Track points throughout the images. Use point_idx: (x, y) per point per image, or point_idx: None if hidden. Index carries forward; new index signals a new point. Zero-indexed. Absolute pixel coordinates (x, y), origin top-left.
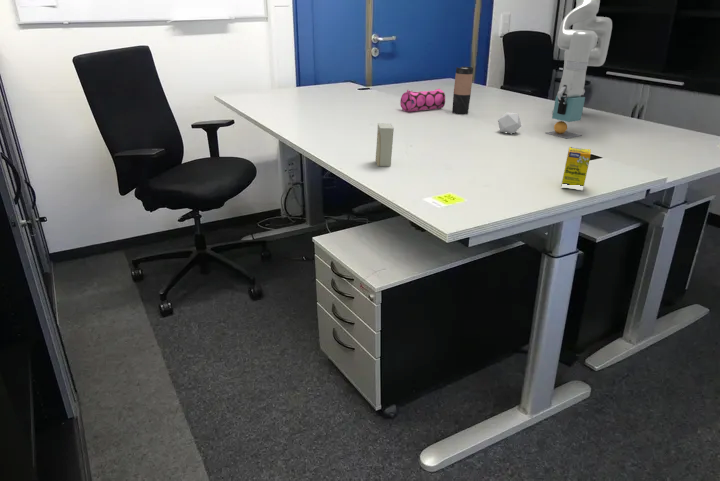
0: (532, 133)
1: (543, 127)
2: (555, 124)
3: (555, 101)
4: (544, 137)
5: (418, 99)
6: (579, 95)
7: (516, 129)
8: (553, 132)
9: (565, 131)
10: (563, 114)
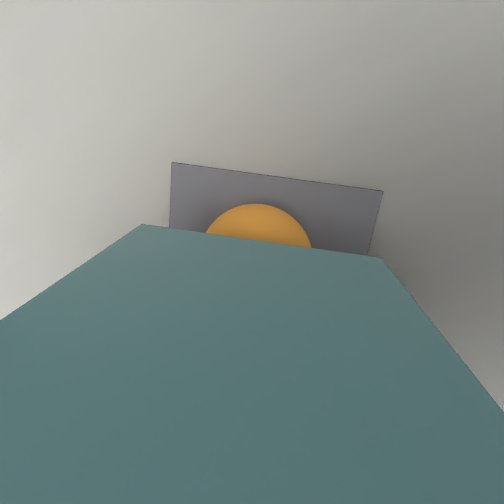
0: (69, 95)
1: (382, 13)
2: (213, 232)
3: None
4: (55, 228)
5: None
6: None
7: None
8: (237, 203)
9: (355, 248)
10: None
